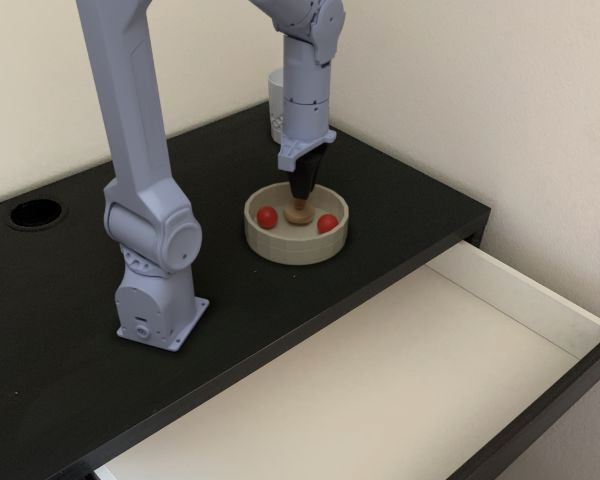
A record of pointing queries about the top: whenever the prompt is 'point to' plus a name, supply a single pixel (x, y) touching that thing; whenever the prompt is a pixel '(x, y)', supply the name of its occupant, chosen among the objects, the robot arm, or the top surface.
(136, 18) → the robot arm
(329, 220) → the tomato
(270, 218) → the tomato
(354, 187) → the top surface
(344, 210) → the bowl
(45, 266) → the top surface
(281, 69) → the white cup
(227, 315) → the top surface
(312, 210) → the wooden peg stand
